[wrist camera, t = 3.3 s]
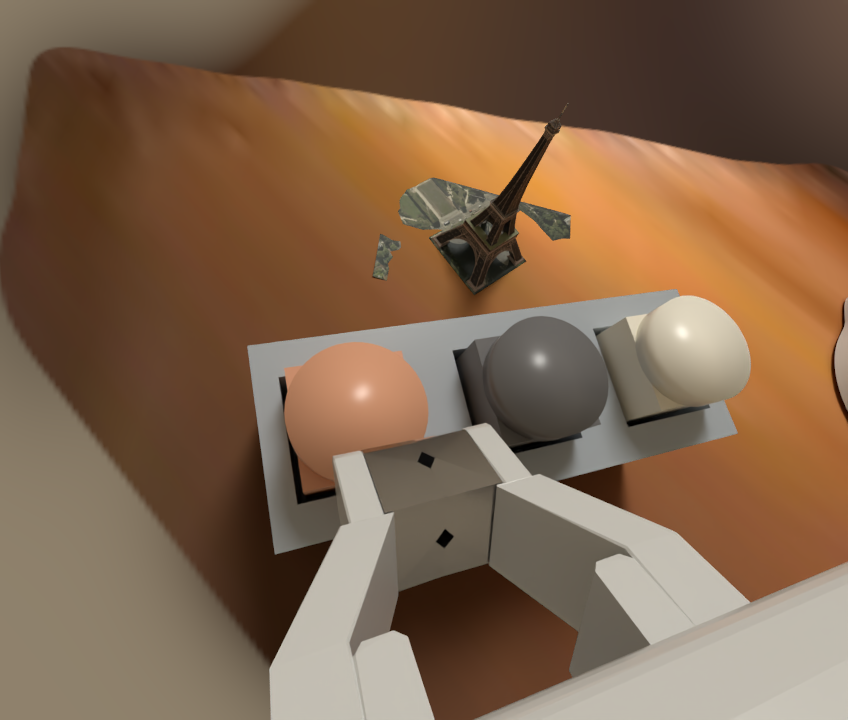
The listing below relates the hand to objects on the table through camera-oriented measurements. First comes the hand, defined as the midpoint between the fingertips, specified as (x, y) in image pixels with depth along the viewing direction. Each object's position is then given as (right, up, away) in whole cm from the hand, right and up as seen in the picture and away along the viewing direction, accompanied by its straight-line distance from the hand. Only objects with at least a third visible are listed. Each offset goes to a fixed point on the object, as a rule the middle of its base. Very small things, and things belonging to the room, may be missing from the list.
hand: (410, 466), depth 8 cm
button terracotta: (-4, -2, +14) cm, 14 cm away
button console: (+2, -2, +20) cm, 20 cm away
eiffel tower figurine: (+4, +10, +26) cm, 28 cm away
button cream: (+11, 0, +18) cm, 21 cm away
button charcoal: (+3, -1, +16) cm, 16 cm away
